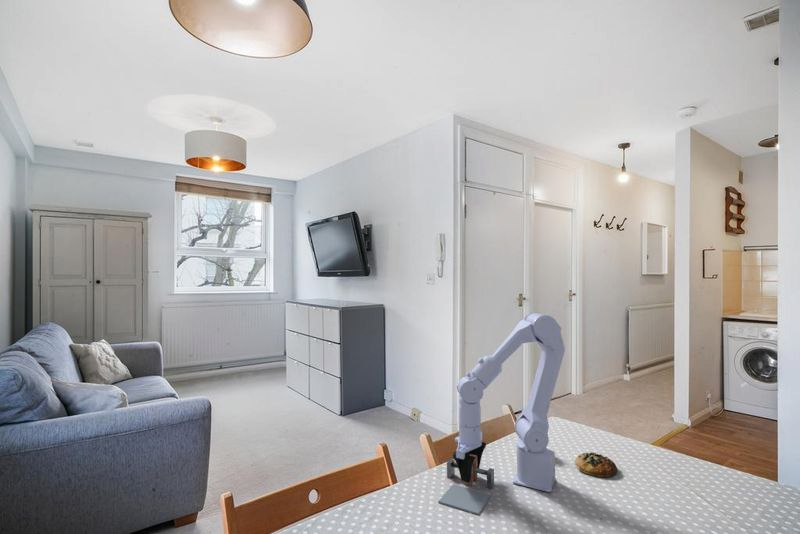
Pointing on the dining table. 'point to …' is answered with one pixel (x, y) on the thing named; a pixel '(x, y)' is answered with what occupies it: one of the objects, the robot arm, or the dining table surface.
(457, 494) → the mat
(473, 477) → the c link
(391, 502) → the dining table surface
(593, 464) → the bread roll
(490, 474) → the bar stand
